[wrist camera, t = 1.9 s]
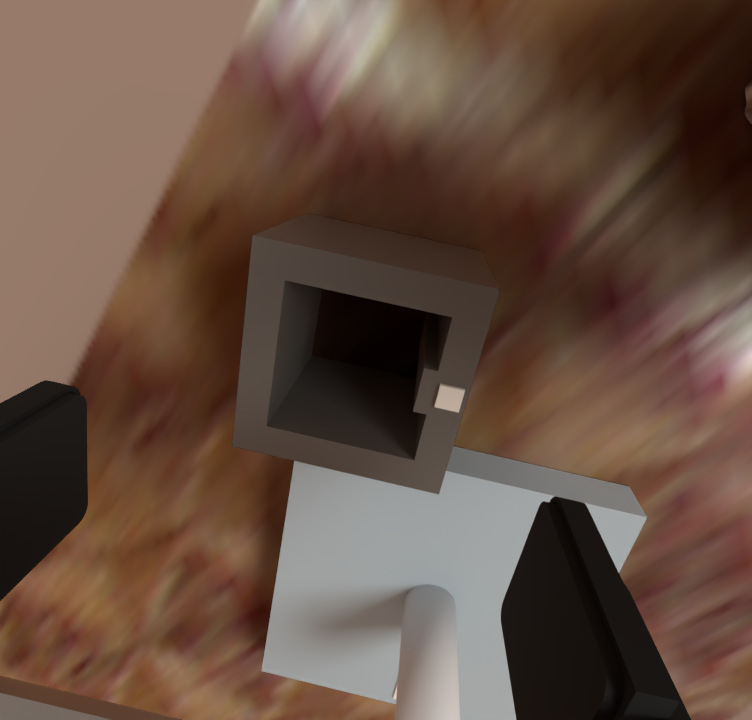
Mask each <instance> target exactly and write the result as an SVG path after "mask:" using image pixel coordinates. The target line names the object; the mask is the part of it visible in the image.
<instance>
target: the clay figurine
mask: <svg viewBox="0 0 752 720" xmlns="http://www.w3.org/2000/svg"><path fill="white" fill-rule="evenodd" d="M745 95H746V101H747V104H746V108H745V116H746V118H747V120H748V121H749V122H750V123H751V124H752V80H751V82H750V83H749V84H748V85H747V86H746V88H745Z"/></svg>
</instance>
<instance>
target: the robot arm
mask: <svg viewBox="0 0 752 720" xmlns="http://www.w3.org/2000/svg"><path fill="white" fill-rule="evenodd" d="M87 505H88V488H87V404H86V399H85V397H83V396H81V395H80V392H79V390H78V389H77V388H76V387H74V386H69V385H65V384H61V383H56V382H51V381H43V382H40V383H38V384H36V385H34V386H32V387H30V388H29V389H27V390H25V391H23V392H21V393H19V394H17V395H15V396H13V397H11V398H10V399H8V400H6V401H4V402H2V403H0V601H1V600H2V599H3V598H4V597H5V596H6V595H7V594H8V593H9V592H10V591H11V590H12V589H13V588H14V587H15V586H16V585H17V584H18V583H19V582H20V581H21V580H22V579H23V578H24V577H25V576H26V575H27V574H28V573H29V572H30V571H31V570H32V569H33V568H34V567H35V566H36V565H37V564H38V563H39V562H40V561H41V560H42V559H43V558H44V557H45V556H46V555H47V554H48V553H49V552H50V551H51V550H52V549H53V548H54V547H55V546H56V545H57V544H58V543H59V542H60V541H62V540H63V539H64V538H65V537H66V536H67V535H68V534H69V533H70V532H71V531H72V530H73V529H74V528H75V527H76V526H77V525H78V524H79V523H80V521H81V520H82V519H83V517H84V515H85V513H86V510H87ZM501 626H502V632H503V638H504V645H505V651H506V657H507V664H508V670H509V676H510V683H511V689H512V695H513V701H514V708H515V714H516V720H691V719H690V716H689V714H688V712H687V710H686V708H685V706H684V704H683V702H682V700H681V698H680V696H679V694H678V692H677V689H676V687H675V685H674V683H673V681H672V679H671V677H670V675H669V673H668V671H667V669H666V667H665V664H664V662H663V660H662V658H661V656H660V654H659V652H658V650H657V648H656V646H655V644H654V642H653V640H652V637H651V635H650V633H649V631H648V629H647V627H646V625H645V623H644V621H643V619H642V617H641V615H640V613H639V610H638V608H637V606H636V604H635V602H634V600H633V598H632V596H631V594H630V592H629V590H628V589H627V587H626V586H625V584H624V583H623V581H622V579H621V577H620V575H619V573H618V571H617V568H616V566H615V564H614V562H613V560H612V558H611V556H610V554H609V552H608V550H607V547H606V545H605V543H604V541H603V539H602V537H601V535H600V533H599V531H598V529H597V526H596V524H595V522H594V520H593V518H592V516H591V514H590V512H589V510H588V508H587V506H586V504H585V503H582V502H578V501H574V500H570V499H565V498H561V497H557V496H555V497H553V498H552V499H551V500H550V502H545V501H543V502H542V503H541V504H540V506H539V508H538V511H537V513H536V516H535V518H534V521H533V524H532V526H531V529H530V532H529V534H528V537H527V539H526V542H525V545H524V547H523V550H522V553H521V555H520V558H519V560H518V563H517V566H516V568H515V571H514V574H513V576H512V579H511V581H510V584H509V587H508V589H507V592H506V594H505V597H504V600H503V603H502V607H501ZM0 720H181V719H177V718H173V717H169V716H165V715H161V714H157V713H152V712H148V711H144V710H140V709H136V708H132V707H128V706H124V705H120V704H115V703H111V702H107V701H103V700H99V699H95V698H91V697H87V696H83V695H78V694H74V693H70V692H66V691H62V690H58V689H54V688H50V687H45V686H41V685H37V684H33V683H29V682H24V681H20V680H16V679H12V678H8V677H3V676H0Z"/></svg>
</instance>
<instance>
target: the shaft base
mask: <svg viewBox="0 0 752 720" xmlns="http://www.w3.org/2000/svg"><path fill="white" fill-rule="evenodd" d="M555 496H557V497H561V498H565V499H570V500H574V501H578V502H582V503H585V504H586V506H587V508H588V510H589V512H590V514H591V516H592V518H593V520H594V522H595V524H596V526H597V529H598V531H599V533H600V535H601V537H602V539H603V541H604V543H605V545H606V547H607V550H608V552H609V554H610V556H611V558H612V560H613V562H614V564H615V566H616V568H617V571H618V573H619V572H620V570H621V568H622V566H623V564H624V562H625V560H626V558H627V556H628V554H629V552H630V550H631V548H632V546H633V544H634V542H635V540H636V538H637V536H638V534H639V532H640V530H641V528H642V527H643V525H644V523H645V521H646V519H647V516H646V515H645V513H644V511H643V510H642V508H641V506H640V504H639V503H638V501H637V499H636V498H635V496H634V494H633V493H632V491H631V489H630V487H629V486H624V485H620V484H616V483H611V482H607V481H603V480H598V479H594V478H590V477H585V476H581V475H577V474H572V473H568V472H563V471H559V470H555V469H550V468H546V467H542V466H537V465H533V464H529V463H524V462H520V461H516V460H511V459H507V458H502V457H498V456H494V455H489V454H485V453H481V452H476V451H472V450H468V449H463V448H459V447H455V446H453V449H452V453H451V456H450V459H449V463H448V466H447V469H446V473H445V476H444V479H443V483H442V486H441V489H440V493H439V494H434V493H430V492H426V491H421V490H417V489H413V488H409V487H404V486H400V485H396V484H391V483H387V482H383V481H379V480H374V479H370V478H366V477H361V476H357V475H353V474H348V473H344V472H340V471H336V470H331V469H327V468H323V467H318V466H314V465H310V464H306V463H301V462H297V461H294V466H293V473H292V479H291V485H290V492H289V498H288V505H287V511H286V518H285V524H284V530H283V537H282V543H281V550H280V556H279V563H278V569H277V575H276V582H275V588H274V595H273V601H272V608H271V614H270V620H269V627H268V633H267V640H266V646H265V653H264V659H263V665H262V671H264V672H268V673H272V674H276V675H280V676H284V677H288V678H292V679H296V680H300V681H304V682H308V683H312V684H316V685H320V686H324V687H328V688H332V689H337V690H341V691H345V692H349V693H353V694H357V695H361V696H365V697H369V698H373V699H377V700H381V701H385V702H389V703H393V704H396V709H395V720H516V714H515V708H514V701H513V695H512V689H511V683H510V676H509V670H508V664H507V657H506V651H505V645H504V638H503V632H502V626H501V607H502V603H503V600H504V597H505V594H506V592H507V589H508V587H509V584H510V581H511V579H512V576H513V574H514V571H515V568H516V566H517V563H518V560H519V558H520V555H521V553H522V550H523V547H524V545H525V542H526V539H527V537H528V534H529V532H530V529H531V526H532V524H533V521H534V518H535V516H536V513H537V511H538V508H539V506H540V504H541V503H542V502H543V501H545V502H550V500H551V499H552V498H553V497H555Z"/></svg>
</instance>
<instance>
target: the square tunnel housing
mask: <svg viewBox="0 0 752 720" xmlns="http://www.w3.org/2000/svg"><path fill="white" fill-rule="evenodd" d="M322 289H326V290H331V291H336V292H340V293H345V294H349V295H354V296H358V297H363V298H367V299H372V300H376V301H381V302H385V303H390V304H394V305H399V306H403V307H408V308H412V309H417V310H421V311H426V312H427V315H426V319H425V323H424V327H423V331H422V335H421V339H420V345H419V355H418V366H417V376H416V379H414V378H410V377H406V376H401V375H397V374H392V373H388V372H383V371H379V370H375V369H370V368H366V367H361V366H357V365H352V364H348V363H344V362H339V361H335V360H330V359H326V358H321V357H317V356H313V355H312V352H313V346H314V340H315V333H316V327H317V320H318V314H319V308H320V301H321V295H322ZM499 292H500V288H499V286H498V284H497V282H496V280H495V278H494V276H493V274H492V272H491V270H490V268H489V265H488V263H487V261H486V259H485V257H484V255H483V253H482V251H480V250H476V249H471V248H466V247H462V246H457V245H453V244H448V243H443V242H439V241H434V240H429V239H425V238H420V237H416V236H411V235H406V234H402V233H397V232H393V231H388V230H383V229H379V228H374V227H369V226H365V225H360V224H356V223H351V222H346V221H342V220H337V219H333V218H328V217H323V216H319V215H314V214H309V213H306V214H304V215H301V216H299V217H296V218H294V219H291V220H289V221H286V222H284V223H282V224H279V225H277V226H274V227H272V228H269V229H267V230H264V231H262V232H259V233H257V234H254V235H252V245H251V256H250V266H249V276H248V287H247V297H246V307H245V318H244V328H243V338H242V349H241V359H240V369H239V380H238V390H237V400H236V411H235V421H234V431H233V442H232V446H233V447H237V448H241V449H245V450H250V451H254V452H258V453H263V454H267V455H271V456H276V457H280V458H284V459H288V460H293V461H297V462H301V463H306V464H310V465H314V466H318V467H323V468H327V469H331V470H336V471H340V472H344V473H348V474H353V475H357V476H361V477H366V478H370V479H374V480H379V481H383V482H387V483H391V484H396V485H400V486H404V487H409V488H413V489H417V490H421V491H426V492H430V493H434V494H439V493H440V489H441V486H442V483H443V479H444V476H445V473H446V469H447V466H448V463H449V459H450V456H451V453H452V449H453V446H454V442H455V439H456V436H457V432H458V429H459V426H460V422H461V419H462V416H463V412H464V409H465V406H466V402H467V399H468V396H469V392H470V389H471V386H472V382H473V379H474V375H475V372H476V369H477V365H478V362H479V359H480V355H481V352H482V349H483V345H484V342H485V339H486V335H487V332H488V329H489V325H490V322H491V318H492V315H493V312H494V308H495V305H496V302H497V298H498V295H499Z"/></svg>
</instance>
